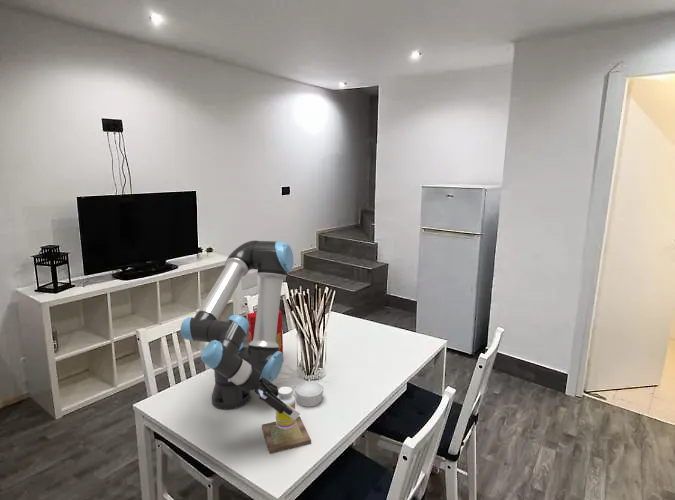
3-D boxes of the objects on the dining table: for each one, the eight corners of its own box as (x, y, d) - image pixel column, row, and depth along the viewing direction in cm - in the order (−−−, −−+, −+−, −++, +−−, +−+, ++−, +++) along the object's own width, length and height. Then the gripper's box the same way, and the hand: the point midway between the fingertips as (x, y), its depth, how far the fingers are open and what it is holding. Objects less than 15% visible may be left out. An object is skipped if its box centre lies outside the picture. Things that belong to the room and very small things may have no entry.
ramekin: (303, 390, 171) (302, 379, 170) (327, 396, 167) (327, 384, 166) (290, 405, 161) (290, 392, 160) (316, 411, 157) (316, 398, 156)
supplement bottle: (297, 427, 140) (297, 393, 137) (278, 431, 138) (277, 397, 135) (292, 416, 146) (292, 383, 143) (274, 420, 144) (273, 386, 141)
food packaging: (252, 368, 189) (250, 317, 184) (249, 364, 194) (247, 313, 188) (283, 361, 196) (281, 312, 191) (279, 357, 200) (277, 308, 195)
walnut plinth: (261, 428, 147) (261, 424, 147) (299, 419, 152) (299, 416, 152) (269, 453, 134) (269, 449, 134) (311, 443, 139) (310, 439, 139)
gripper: (232, 370, 141) (280, 403, 150) (240, 400, 124) (294, 436, 132) (247, 353, 142) (294, 387, 151) (257, 381, 124) (310, 418, 133)
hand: (294, 410), depth 142 cm, fingers closed on supplement bottle, 7 cm apart
